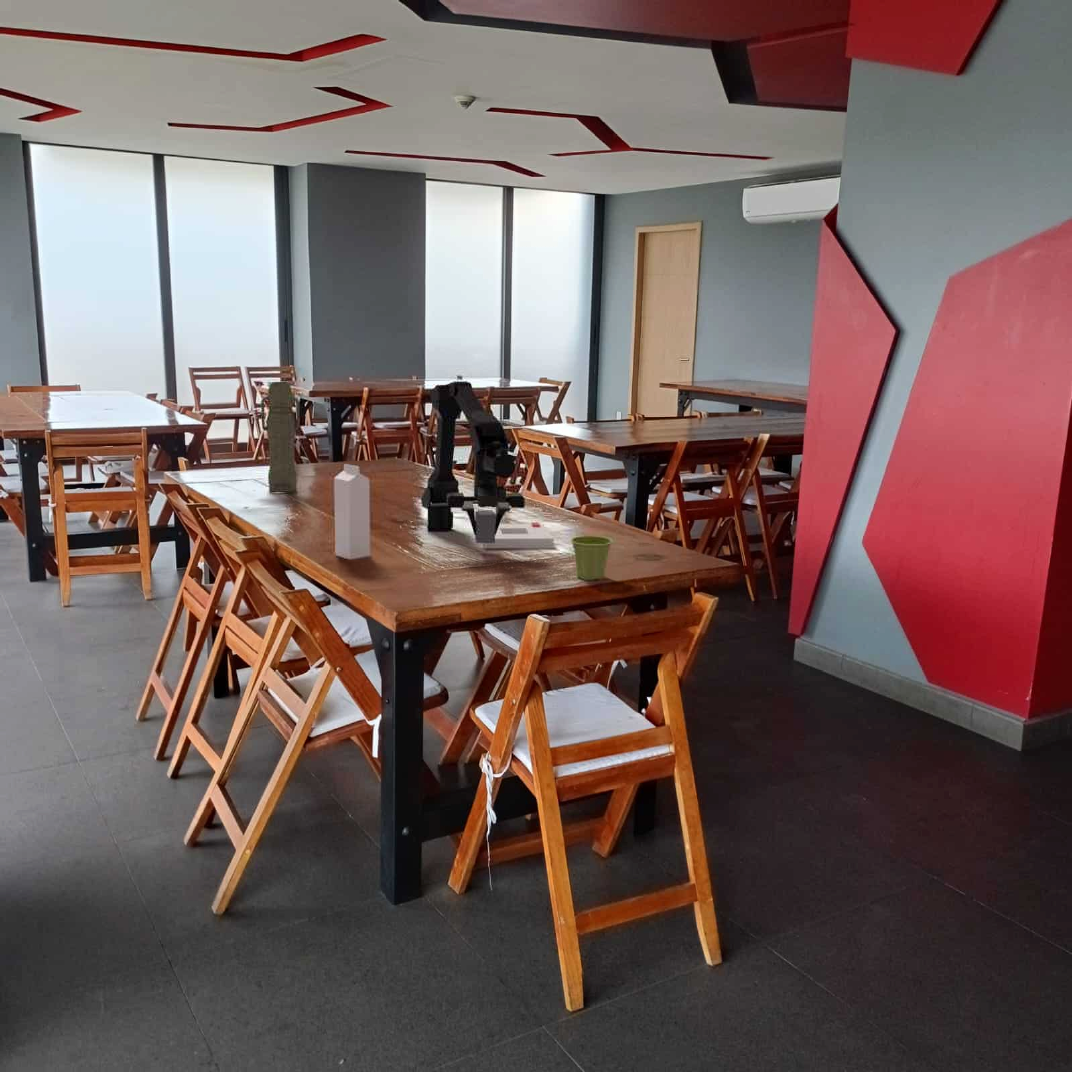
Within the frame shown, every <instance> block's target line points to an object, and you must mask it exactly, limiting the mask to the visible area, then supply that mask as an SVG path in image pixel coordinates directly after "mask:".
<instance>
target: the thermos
mask: <svg viewBox="0 0 1072 1072" xmlns="http://www.w3.org/2000/svg"><path fill="white" fill-rule="evenodd" d="M265 401H267V407H268V415H267V418H266V420H265V417H266V416H265ZM294 401H295V405H296V409H295V411H296V420H295V417H294V411H293V405H294ZM300 403H301V402H300V400H299V399H298V398H297V397H294V395H293V391H292V387H291V384H290V383H288V381H272V382H271V383H269V386H268V390H267V396H264V397H263V398H262V399H261V401H260V409H261V426H262V427H261V428H262V430H265V431H266V436H267V440H268V453H269V454H268V457H269V469H268V473H267V474H268V475H267V478H268V480H267V483H268V488H269V489H268V492H269V491H270V493H272V492H292V493H295V492H294V491H296V490H297V483H298V476H297V475H298V474H297V471H296V468H295V467H296V466H295V459H296V458H295V439H296V431H298V430H299V429H300V427H301V420H300V419H301V418H300V417H301V416H300V415H301V414H300V412H301V408H300V406H301V405H300ZM265 421H266V422H265ZM265 423H266V425H265ZM296 492H297V491H296Z"/></svg>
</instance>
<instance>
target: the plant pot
mask: <svg viewBox="0 0 1072 1072" xmlns="http://www.w3.org/2000/svg"><path fill="white" fill-rule="evenodd" d="M570 542H571V543H572V548H573V549H574V556H575V557H574V559H575V566H576V575H577V577H578V578H580V580H586V581H593V580H596V579H597V580H602V579H604V578H605V576H606V575H605V573H606V569H607V568H606V567H607V562H608V556H609V550H610V549H611V545H612V544H613V540H612V538H610V537H609V538H608V537H604V536H597V535H579V536H575V537H572V538H571V539H570Z"/></svg>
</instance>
